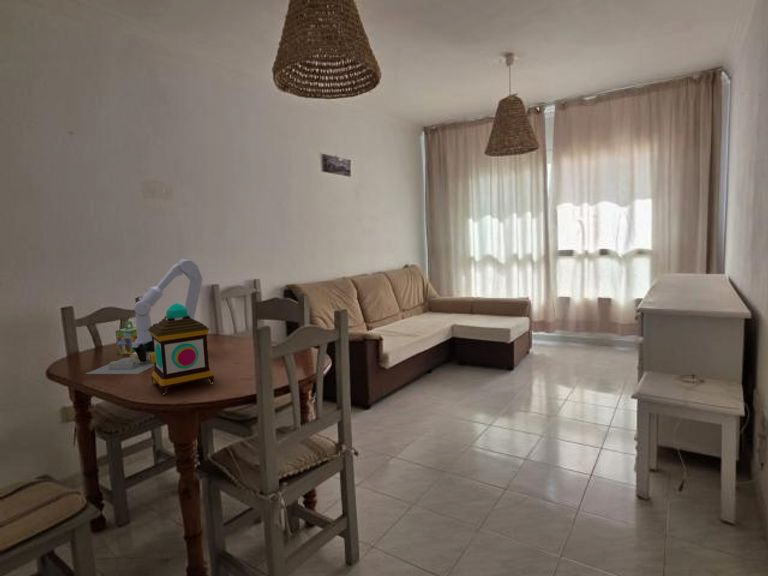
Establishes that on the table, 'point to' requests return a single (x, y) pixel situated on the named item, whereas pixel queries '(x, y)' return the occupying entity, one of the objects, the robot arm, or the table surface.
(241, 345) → the table surface
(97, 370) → the mat
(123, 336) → the chalk box
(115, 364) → the fulcrum
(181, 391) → the table surface
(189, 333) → the decorative lantern
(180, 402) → the table surface
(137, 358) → the beam
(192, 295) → the robot arm
